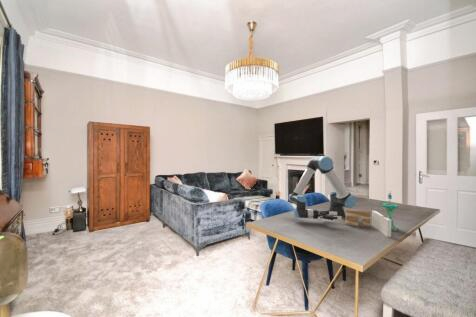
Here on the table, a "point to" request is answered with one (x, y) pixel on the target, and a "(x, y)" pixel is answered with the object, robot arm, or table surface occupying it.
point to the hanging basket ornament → (390, 211)
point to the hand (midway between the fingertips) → (339, 215)
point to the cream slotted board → (381, 223)
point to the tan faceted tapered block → (355, 214)
